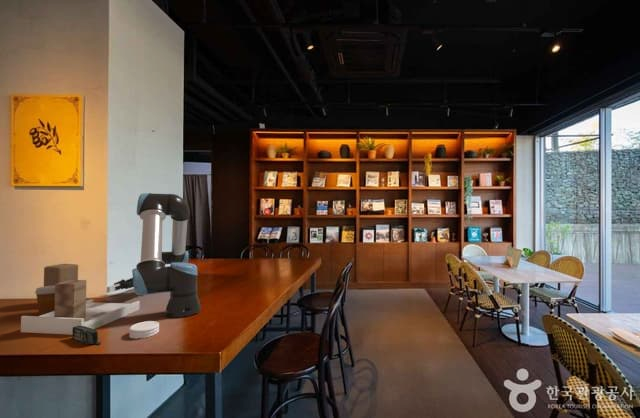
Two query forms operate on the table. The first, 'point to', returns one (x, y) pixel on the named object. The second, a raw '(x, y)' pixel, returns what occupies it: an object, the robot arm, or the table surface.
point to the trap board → (94, 318)
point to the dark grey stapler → (85, 335)
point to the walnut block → (70, 299)
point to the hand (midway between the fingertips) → (108, 289)
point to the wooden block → (60, 273)
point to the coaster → (144, 329)
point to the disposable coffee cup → (46, 299)
